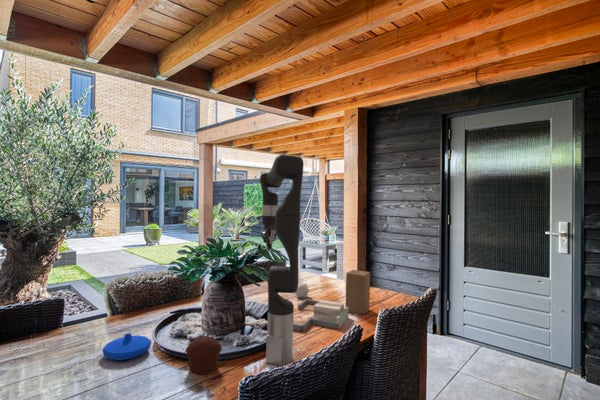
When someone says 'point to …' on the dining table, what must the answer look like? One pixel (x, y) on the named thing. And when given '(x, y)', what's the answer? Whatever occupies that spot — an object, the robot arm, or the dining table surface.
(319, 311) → the ash block
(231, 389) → the dining table surface
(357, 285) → the wooden block
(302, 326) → the box
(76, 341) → the dining table surface
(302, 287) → the die
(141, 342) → the blue knobbed lid
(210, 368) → the muffin
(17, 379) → the dining table surface
